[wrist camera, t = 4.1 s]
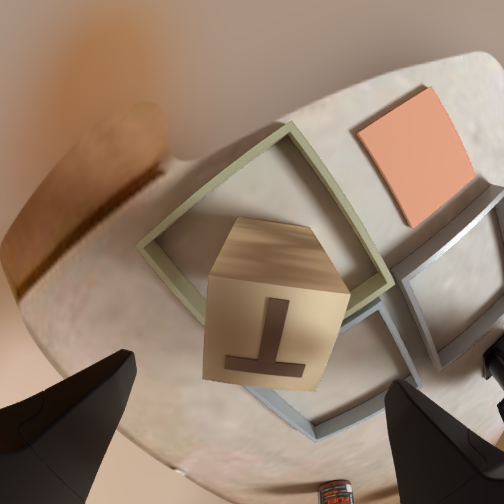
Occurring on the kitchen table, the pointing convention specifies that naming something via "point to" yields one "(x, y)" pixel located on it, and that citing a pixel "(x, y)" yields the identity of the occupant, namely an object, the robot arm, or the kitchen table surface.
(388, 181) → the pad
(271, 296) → the letter block
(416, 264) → the tray charcoal
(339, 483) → the supplement bottle
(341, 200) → the tray olive
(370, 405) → the tray slate
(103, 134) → the kitchen table surface
